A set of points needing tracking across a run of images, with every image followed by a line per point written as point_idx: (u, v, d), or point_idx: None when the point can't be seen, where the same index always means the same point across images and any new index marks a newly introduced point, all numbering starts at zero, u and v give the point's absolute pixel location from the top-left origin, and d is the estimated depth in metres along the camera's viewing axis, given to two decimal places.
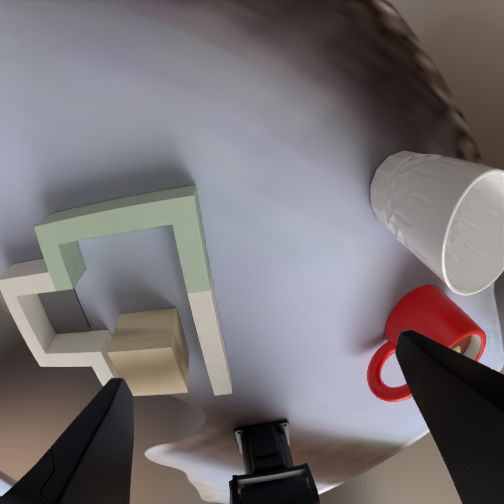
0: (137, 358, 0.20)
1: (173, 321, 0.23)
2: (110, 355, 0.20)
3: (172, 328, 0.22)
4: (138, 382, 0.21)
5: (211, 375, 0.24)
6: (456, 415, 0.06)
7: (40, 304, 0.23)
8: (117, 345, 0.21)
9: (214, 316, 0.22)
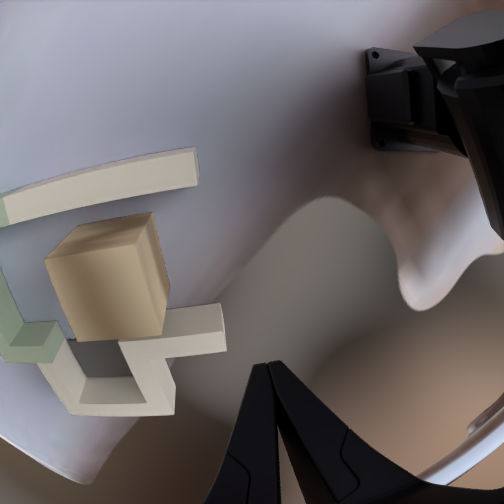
0: (73, 307, 0.14)
1: (67, 238, 0.15)
2: (81, 339, 0.14)
3: None
4: (123, 316, 0.14)
5: (139, 190, 0.14)
6: (303, 470, 0.06)
7: (111, 379, 0.22)
8: None
9: (31, 190, 0.13)
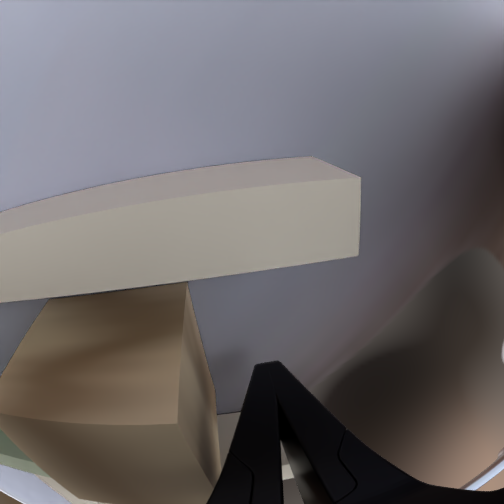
0: (61, 473, 0.06)
1: (27, 337, 0.07)
2: (84, 498, 0.06)
3: (15, 356, 0.06)
4: (157, 493, 0.06)
5: (219, 266, 0.06)
6: (300, 471, 0.06)
7: None
8: None
9: None
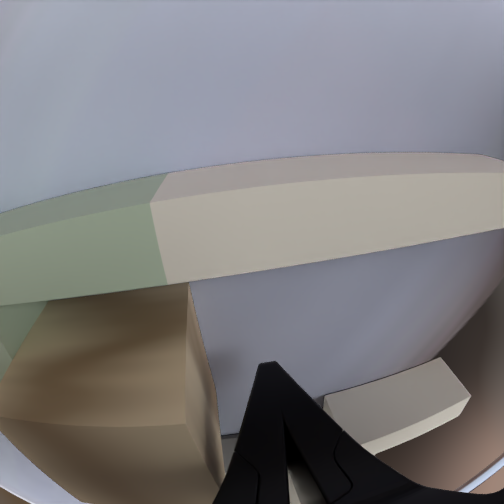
0: (65, 476, 0.05)
1: (27, 339, 0.07)
2: (87, 501, 0.06)
3: (16, 358, 0.06)
4: (161, 494, 0.06)
5: (494, 222, 0.06)
6: (296, 471, 0.06)
7: None
8: None
9: (278, 189, 0.05)
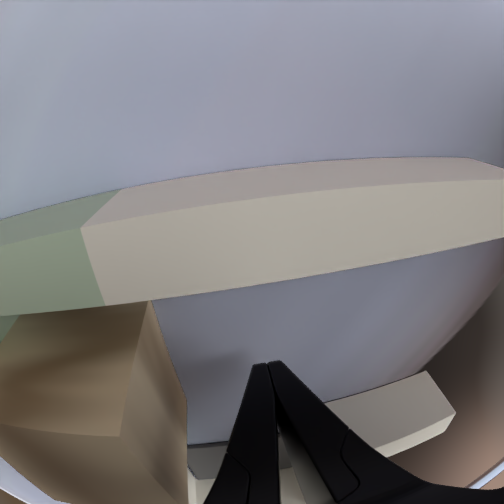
0: (34, 475, 0.05)
1: (1, 345, 0.07)
2: (59, 499, 0.06)
3: None
4: (121, 498, 0.06)
5: (474, 236, 0.06)
6: (302, 470, 0.06)
7: None
8: None
9: (203, 210, 0.05)
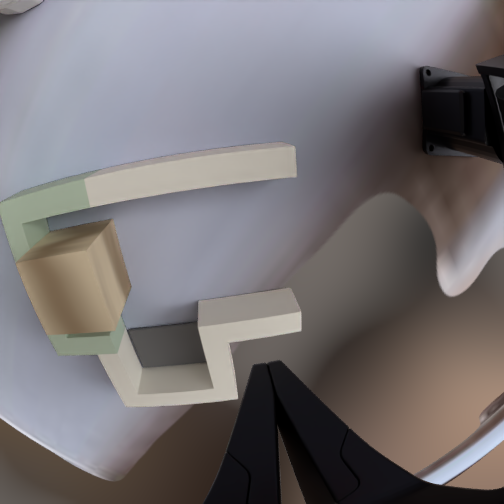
0: (41, 304, 0.15)
1: (38, 243, 0.16)
2: (49, 332, 0.15)
3: (32, 248, 0.15)
4: (82, 313, 0.15)
5: (243, 178, 0.15)
6: (303, 470, 0.06)
7: (170, 368, 0.23)
8: None
9: (122, 171, 0.14)
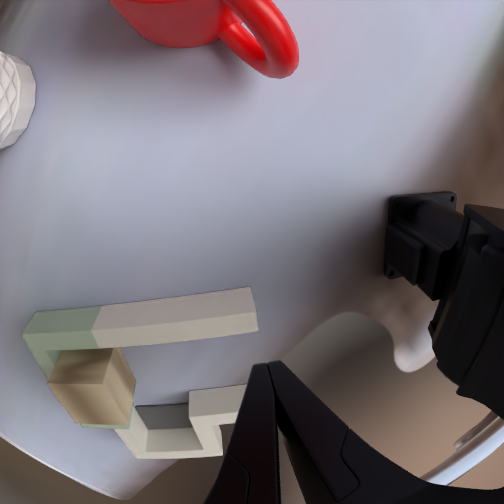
0: (70, 407, 0.19)
1: (59, 357, 0.20)
2: (78, 422, 0.19)
3: (55, 365, 0.19)
4: (103, 414, 0.19)
5: (215, 335, 0.19)
6: (303, 470, 0.06)
7: (170, 430, 0.27)
8: None
9: (120, 328, 0.18)
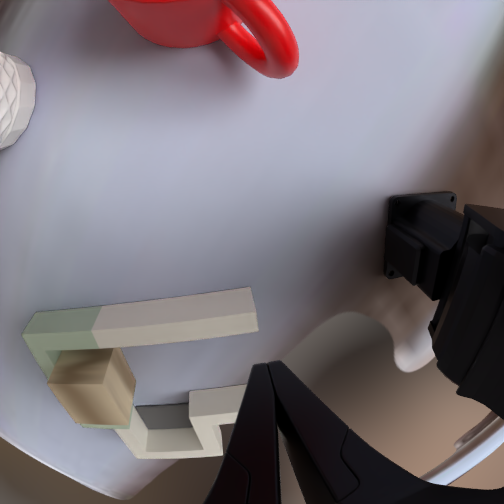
0: (71, 407, 0.19)
1: (59, 357, 0.20)
2: (78, 422, 0.19)
3: (56, 365, 0.19)
4: (103, 415, 0.19)
5: (215, 335, 0.19)
6: (302, 470, 0.06)
7: (170, 430, 0.27)
8: None
9: (120, 329, 0.18)
